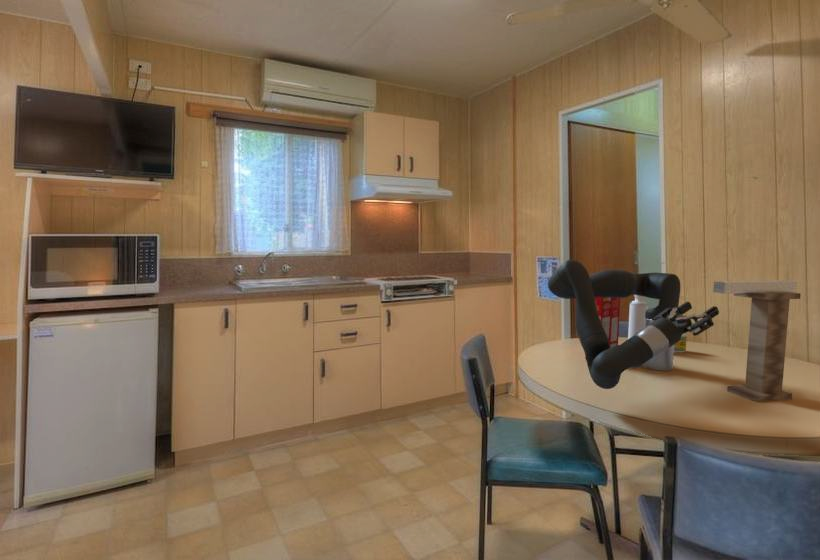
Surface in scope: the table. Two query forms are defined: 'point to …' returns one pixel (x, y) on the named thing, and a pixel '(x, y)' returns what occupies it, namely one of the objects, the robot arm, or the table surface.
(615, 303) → the food packaging
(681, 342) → the supplement bottle
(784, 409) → the table surface
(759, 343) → the walnut stand
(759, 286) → the beige long bar
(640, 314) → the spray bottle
